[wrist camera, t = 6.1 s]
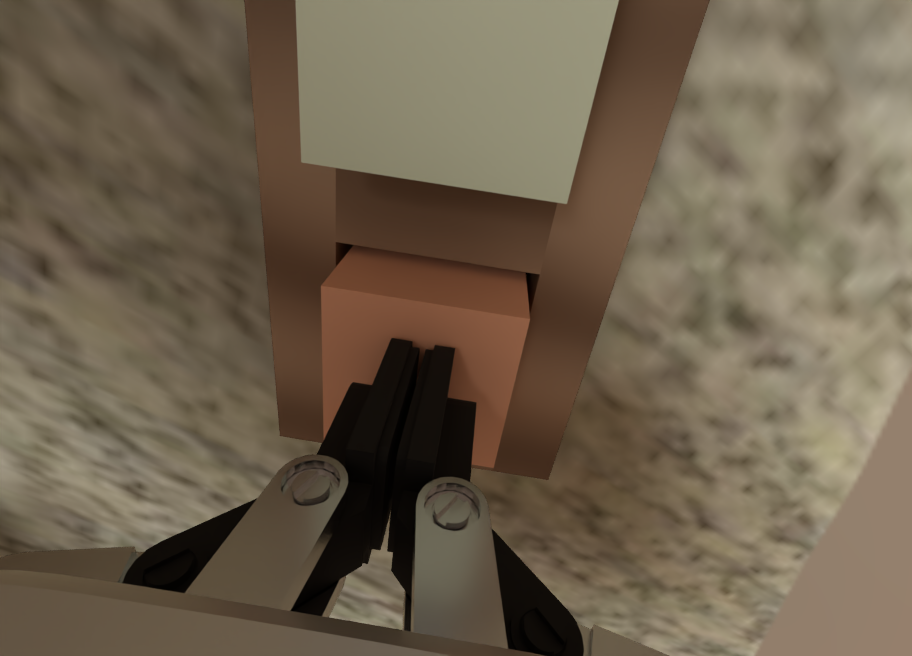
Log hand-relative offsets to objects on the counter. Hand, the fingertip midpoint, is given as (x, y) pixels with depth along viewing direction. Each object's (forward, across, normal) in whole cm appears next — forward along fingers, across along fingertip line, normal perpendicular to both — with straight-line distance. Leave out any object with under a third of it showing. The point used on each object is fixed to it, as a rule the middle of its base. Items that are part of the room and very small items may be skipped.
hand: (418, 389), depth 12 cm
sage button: (+3, 0, -8) cm, 9 cm away
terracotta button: (+4, 0, 0) cm, 4 cm away
